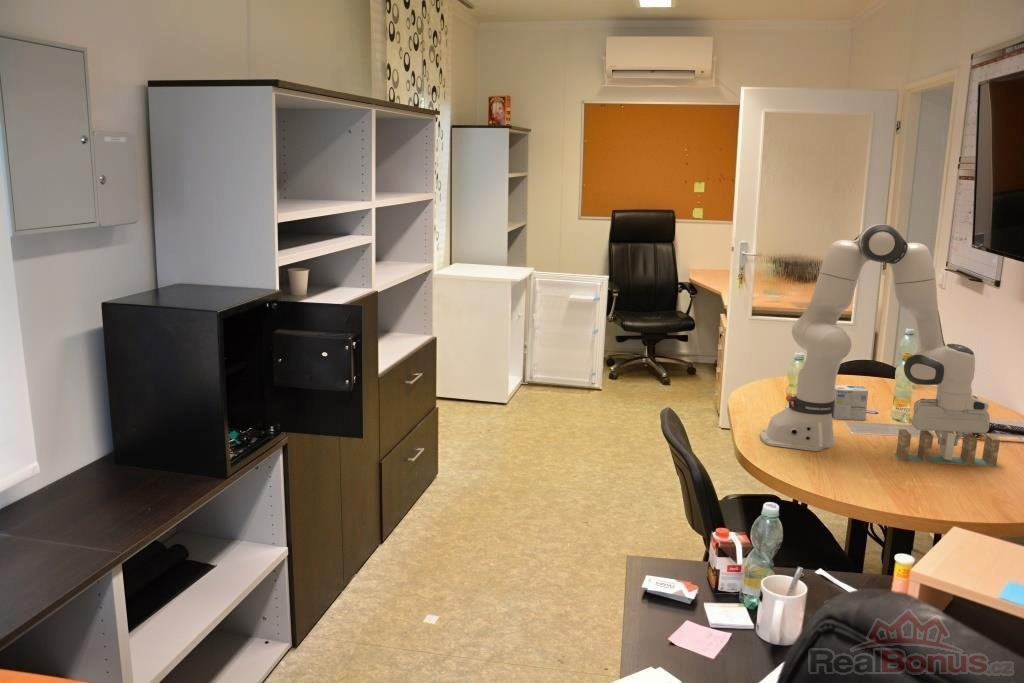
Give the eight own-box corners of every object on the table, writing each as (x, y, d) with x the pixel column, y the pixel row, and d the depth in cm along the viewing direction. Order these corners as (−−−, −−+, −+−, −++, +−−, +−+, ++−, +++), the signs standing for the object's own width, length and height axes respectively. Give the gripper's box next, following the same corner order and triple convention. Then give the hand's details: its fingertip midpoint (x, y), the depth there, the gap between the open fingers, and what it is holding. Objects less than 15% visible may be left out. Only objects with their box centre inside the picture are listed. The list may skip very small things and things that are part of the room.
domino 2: (922, 461, 237) (925, 435, 235) (917, 455, 242) (920, 430, 240) (929, 462, 237) (933, 436, 235) (924, 455, 242) (927, 430, 240)
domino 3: (944, 459, 236) (948, 433, 234) (938, 453, 241) (942, 427, 239) (952, 459, 236) (955, 433, 234) (946, 453, 241) (949, 428, 239)
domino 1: (900, 460, 238) (904, 434, 236) (896, 454, 243) (899, 429, 241) (908, 460, 238) (911, 435, 236) (903, 454, 243) (906, 429, 241)
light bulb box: (859, 414, 282) (862, 384, 280) (866, 420, 275) (869, 390, 273) (828, 413, 283) (831, 383, 281) (833, 419, 276) (836, 389, 274)
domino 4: (966, 464, 235) (970, 438, 234) (960, 458, 240) (963, 432, 238) (973, 464, 235) (977, 438, 233) (967, 458, 240) (971, 433, 238)
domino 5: (988, 465, 234) (992, 439, 233) (982, 459, 239) (985, 433, 237) (996, 466, 234) (1000, 439, 232) (989, 459, 239) (993, 434, 237)
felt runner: (899, 461, 238) (899, 460, 238) (893, 454, 244) (893, 453, 244) (998, 467, 234) (998, 466, 234) (990, 460, 240) (990, 459, 239)
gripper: (918, 401, 233) (912, 446, 236) (994, 405, 230) (988, 450, 233) (911, 395, 239) (906, 439, 242) (986, 398, 236) (979, 443, 239)
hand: (947, 445), depth 238 cm, fingers closed on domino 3, 2 cm apart
